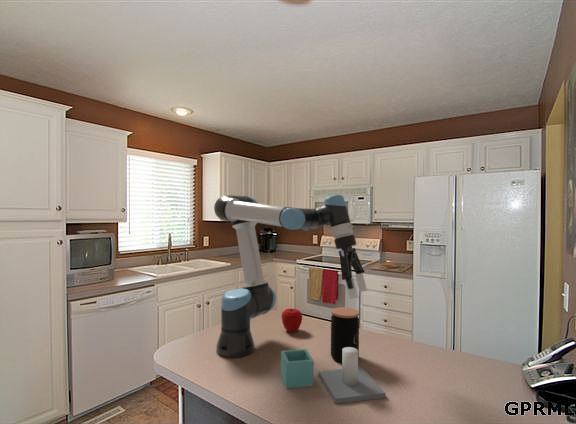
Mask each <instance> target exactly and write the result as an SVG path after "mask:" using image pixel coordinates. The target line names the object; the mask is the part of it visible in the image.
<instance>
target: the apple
mask: <svg viewBox="0 0 576 424" xmlns="http://www.w3.org/2000/svg"><path fill="white" fill-rule="evenodd" d="M281 320H282V325H283V327H284V329H285V330H286V331H287V332H288V333H295V332H297V331H298V330H299V328H301V327H300V326H301V325H302V322H303V314H302V312H301V311H300V310H299V309H296V308H285V309H284V310H283V311H282V312H281Z"/></svg>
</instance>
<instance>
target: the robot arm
mask: <svg viewBox="0 0 576 424" xmlns="http://www.w3.org/2000/svg"><path fill="white" fill-rule="evenodd" d="M323 203H324V204H322V205H321V206H317V207H315V208H300V207H291V206H281V205H274V204H265V203H258V201H257V200H256V199H255V198H253V197H250V196H248V195H233V194H224V195H222V196H220V197H219V198H218V199H216V201H215V202H214V205H213V206H214V207H213V208H214V213H215V216H216V217H217V218H218V219H220V220H221V221H224V222H231V227H232V229H235V231H236V237H237V245H238V249H239V255H240V261H241V266H242V267H241V268H242V273H243V280H244V283H243V285H242V287H241V288H236V289H235V288H234V289H231V290H228V291H226V292H224V293H223V295H222V298H221V303H220V304H221V305H220V308H221V312H220V313H221V314H220V315H221V316H220V321H221V323H220V327H221V328H220V334H219V336H218V340H217V344H216V346H215V347H216V348H215V349H216V351H215V352H216V353H217V354H218V355H219V356H221V357H223V358H231V359H233V358H234V359H235V358H242V357H246V356H249V355H251V354H252V353H253V352H254V351H255V341H254V338H253V335H252V332H251V320H253V319H254V318H257V317H259V316H262V315H266V314H268V313H269V312H271V310H273V308H274V307H275V305H276V302H277V301H276V300H277V297H276V291H274V289H273V288H272V287H271V286H270V285H269V281H267V280H266V279H265V277H264V272H263V266H262V261H261V256H260V250H259V244H258V237H257V232H256V225H257V224H263V225H269V226H274V227H275V226H277V227H282V228H285V229H287V230H291V231H292V230H293V231H294V230H295V231H296V230H303V231H307V232H308V231H311V230H315V229H318V228H321V227H323V226H328V225H330V226H329V227H330V230H331V234H332V237H333V238H334V241H333V242H334V244H335V248H336V250H339V249H341V250H339V251H338V254H339V255H338V256H339V260H340V271H341V279H342V281H344V280H345V285H346V288H347V289H346V290H347V293H348V296H349V299H350V300H353V299H357V298H359V296H358V295H359V294H358V291H357V287H356V283H355V279H354V278H353V277H352V276H353V272H352V271H354V273H355V275H354V276H355V278H356V282H357V286H358V290H359V293H362V292H367V291H368V288H367V285H366V282H365V281H366V280H365V277H364V274H363V273H365V269H364V268H363V266H362V264H361V261H360V258H359V256H358V253H357V250H356V247H353V246H356V245H357V241H356V237H355V235H354V230H353V227H354V225H353V224H352V222H351V220H350V216H349V212H348V205H347V204H346V201H345V198H344V196H343V195H341V194H335V195H330V196H328V197H326V198H324V199H323ZM352 269H353V270H352Z"/></svg>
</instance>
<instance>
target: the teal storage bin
mask: <svg viewBox="0 0 576 424" xmlns="http://www.w3.org/2000/svg"><path fill="white" fill-rule="evenodd" d="M314 363H315V361H314V358H313V357H312V355H311V354H310V353H309V351H308V349H307V348H300V349H289V350H281V351H280V376H281V378H282V381H283V384H284V386H285V389H292V388H293V389H294V388H296V389H297V388H304V387H305V388H306V387H312V386H313V387H314V374H315V373H314V372H315V371H314V368H315V367H314Z"/></svg>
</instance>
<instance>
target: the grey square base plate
mask: <svg viewBox="0 0 576 424" xmlns="http://www.w3.org/2000/svg"><path fill="white" fill-rule="evenodd" d="M341 364H342V366H341V368H339V369H331V370H321V371H318V377H319V379H320V381H321V382H322V384H323V386H324V387H325V389H326V391H327V392H328V394H329V395H330V397H331V400H332V401H333V402H334V404H344V403H345V404H346V403H351V402H354V403H355V402H359V401H360V402H362V401H369V400H378V399H386V391H384V390H383V388H382V387H381V386H380V385H379V384H378V383H377V382H376V381H375V380H374V379H373V378H372V376H370V374H369V373H368V372H367V371H366V370H365V369H364V368H363V367H362V366H359V357H358V350H357V349H356V348H353V347H345V348H343V349H342V363H341Z"/></svg>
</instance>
